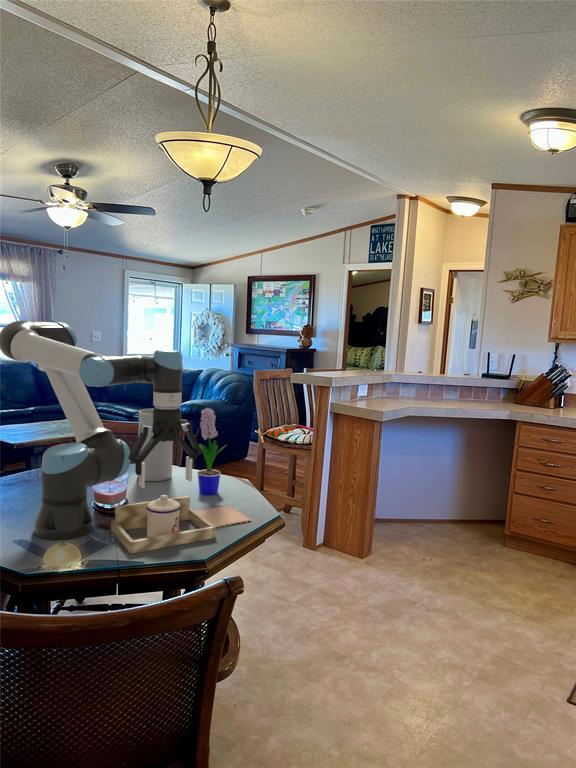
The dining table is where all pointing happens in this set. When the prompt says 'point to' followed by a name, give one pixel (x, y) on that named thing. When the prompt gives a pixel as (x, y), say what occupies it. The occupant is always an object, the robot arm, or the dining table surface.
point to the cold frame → (137, 518)
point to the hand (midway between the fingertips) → (165, 483)
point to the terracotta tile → (223, 516)
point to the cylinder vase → (156, 452)
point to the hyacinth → (208, 455)
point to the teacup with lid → (162, 517)
